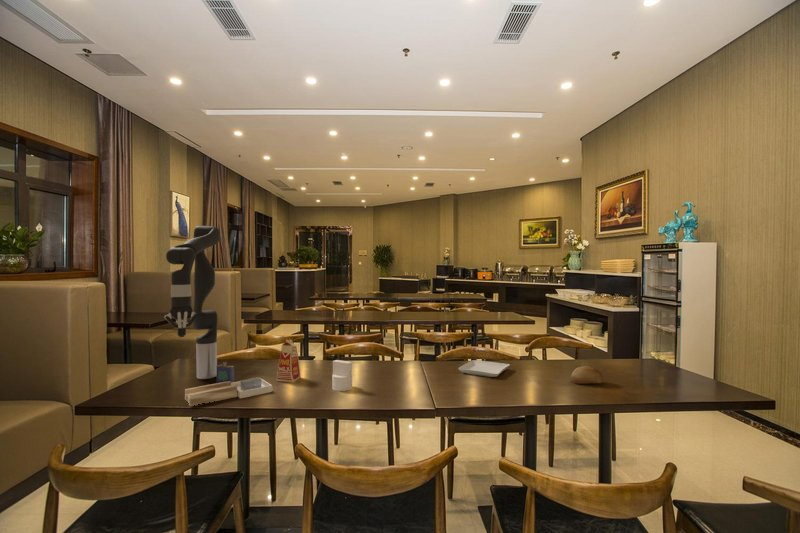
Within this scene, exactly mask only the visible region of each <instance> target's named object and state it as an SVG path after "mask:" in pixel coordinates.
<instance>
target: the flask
mask: <svg viewBox="0 0 800 533" xmlns="http://www.w3.org/2000/svg"><path fill="white" fill-rule="evenodd" d="M227 363H228V362H227V361H226V362H225V361H223V362H222V363H220V364H217V366H216V367H217V376H216V383H222V382H227V381H230V382H231V383H232V382H235V366H234V365H227ZM216 383H215V384H216Z"/></svg>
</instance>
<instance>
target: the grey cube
mask: <svg viewBox="0 0 800 533" xmlns="http://www.w3.org/2000/svg"><path fill="white" fill-rule="evenodd" d="M240 381H241V390H242V391H245V390H250V389H253V381H252V380H251V379H250V378H248V379H247V378H246V379H242V380H240Z"/></svg>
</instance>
